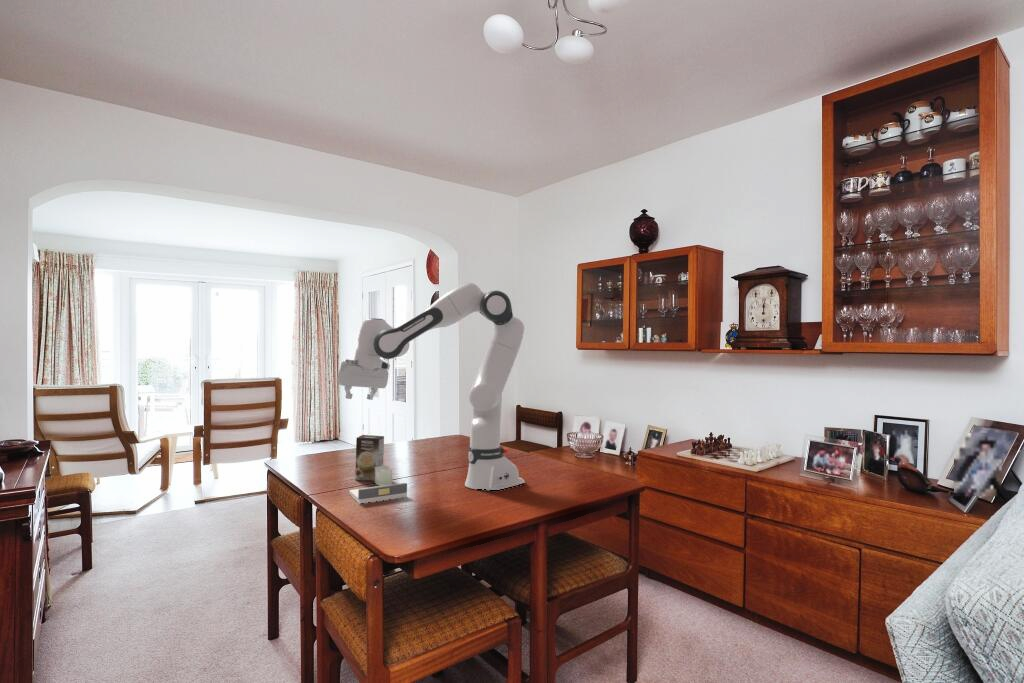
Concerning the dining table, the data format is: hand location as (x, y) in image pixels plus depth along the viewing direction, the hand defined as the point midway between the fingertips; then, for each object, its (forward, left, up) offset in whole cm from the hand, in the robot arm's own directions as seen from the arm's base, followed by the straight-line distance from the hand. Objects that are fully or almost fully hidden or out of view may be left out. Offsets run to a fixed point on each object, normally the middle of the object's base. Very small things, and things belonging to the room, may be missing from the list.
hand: (359, 399), depth 184 cm
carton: (-8, +3, -31) cm, 33 cm away
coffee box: (-6, -7, -32) cm, 33 cm away
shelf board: (-2, +16, -31) cm, 35 cm away
